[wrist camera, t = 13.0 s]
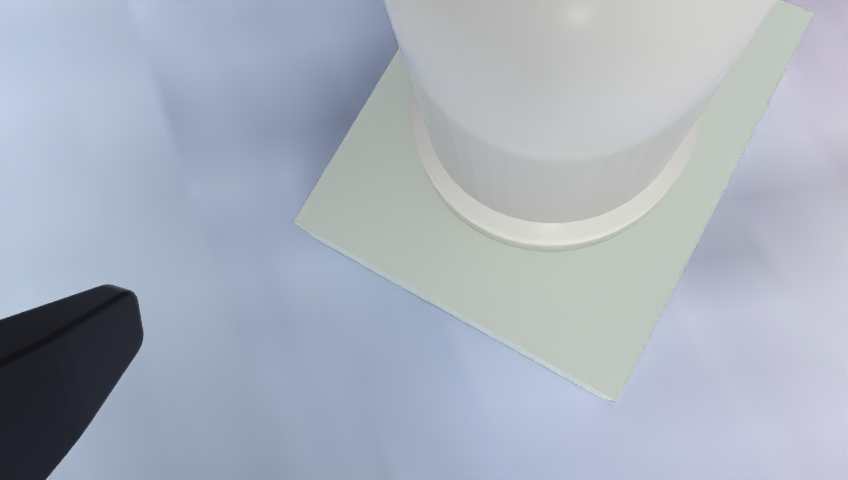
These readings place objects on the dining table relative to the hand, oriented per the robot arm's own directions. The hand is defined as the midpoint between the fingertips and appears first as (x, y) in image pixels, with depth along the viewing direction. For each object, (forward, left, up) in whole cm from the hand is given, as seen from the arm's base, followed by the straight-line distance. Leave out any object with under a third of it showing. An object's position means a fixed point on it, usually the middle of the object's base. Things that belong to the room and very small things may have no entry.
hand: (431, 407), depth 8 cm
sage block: (+8, +2, -11) cm, 14 cm away
